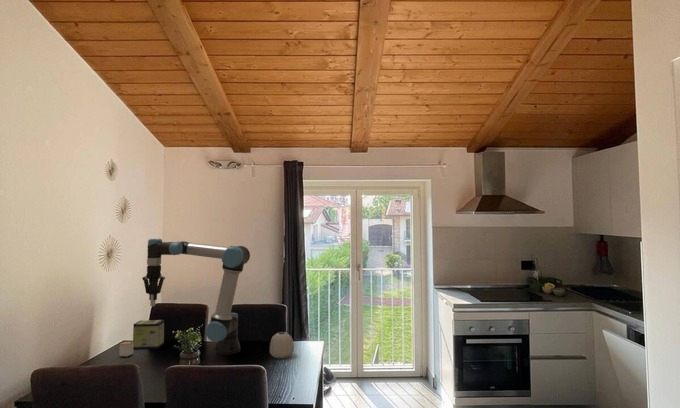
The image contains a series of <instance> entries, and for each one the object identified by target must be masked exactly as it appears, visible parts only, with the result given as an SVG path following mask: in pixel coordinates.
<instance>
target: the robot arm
mask: <svg viewBox="0 0 680 408" xmlns="http://www.w3.org/2000/svg"><path fill="white" fill-rule="evenodd" d="M147 241H148V242H147V247H146V248H147V258H146V272H147V273H146V275H145V276H143V277H142V278H141V279H142V280H143V284H144V288H145V289H144V290H145V293H146V294H148V295H149V297H148V300H149V301H150V302H149V304H150V307H155V306H156V303H157V302H156V300H158V294H161V291H162V287H163V284H164V281H165V279H166V277H165V276H162V256H179V255H190V256H196V257H205V258H211V259H212V258H213V259H219V260H220V259H221V262H222V265H221V267H222V270H223V275H222V279H221V284H220V289H219V294H218V297H217V302H216V305H215V306H216V307H215V311H214V312H213V313H212V314H211V317H210V320H209V321H210V322H209V323H208V324H207V326H206V327H205V335H206V337H207V339H208V340H210V341H211V342H214V343H215V346H214V349H213V350H214V352H213V353H214V354H215V355H217V356H231V355H236V354H238V353H240V352H241V345H240V344H241V343H240V341H239V338H238V337H239V335H238V333H239V330H238V329H239V314H238V313H237V312H232V308H233V304H234V300H235V295H236V290H237V286H238V280H239V276H240V274H241V273H242V272H243V270H244V265H245V264H247V263H248V262H249V260H250V258H251V253H250V250H249V248H248V247H246V246H243V245H236V246H234V245H230V246H222V245H221V246H220V245H214V244H212V245H211V244H206V243H205V244H204V243H196V242H187V241H183V240H182V241H165V242H164V241H163V240H162V238H149V239H148V240H147Z"/></svg>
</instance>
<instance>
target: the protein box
mask: <svg viewBox="0 0 680 408" xmlns="http://www.w3.org/2000/svg"><path fill="white" fill-rule="evenodd" d="M132 329H133V330H132V331H133V334H132V342H134V348H133V350H155V349H156V350H158V349H159V348H160V347H162V346H163V345H164V344H165V340H164V339H165V319H157V320H156V319H153V320H152V319H151V320H139V321H137V322H135V323H133V328H132Z"/></svg>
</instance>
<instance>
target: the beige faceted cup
mask: <svg viewBox="0 0 680 408" xmlns="http://www.w3.org/2000/svg"><path fill="white" fill-rule="evenodd" d="M133 348H134V342H133V341H123V342H122V343H119V349H118V351H119V352H118V356H120V357H123V356H128V357H130V356H131V355H133V354H134V349H133ZM129 355H130V356H129Z"/></svg>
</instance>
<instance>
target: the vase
mask: <svg viewBox="0 0 680 408" xmlns="http://www.w3.org/2000/svg"><path fill="white" fill-rule="evenodd" d="M294 346H295V345H294V340H293V337H292V336H291V335H290V334H289V333H287V332H285V331H280V332H277V333H275V334H274V335H273V336H272V337H271V340H270V342H269V354H270V355H271V356H272V357H273V358H276V359H287V358H290V357H291V356H292V354H293V353H294V352H295V351H294V350H295V347H294Z"/></svg>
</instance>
